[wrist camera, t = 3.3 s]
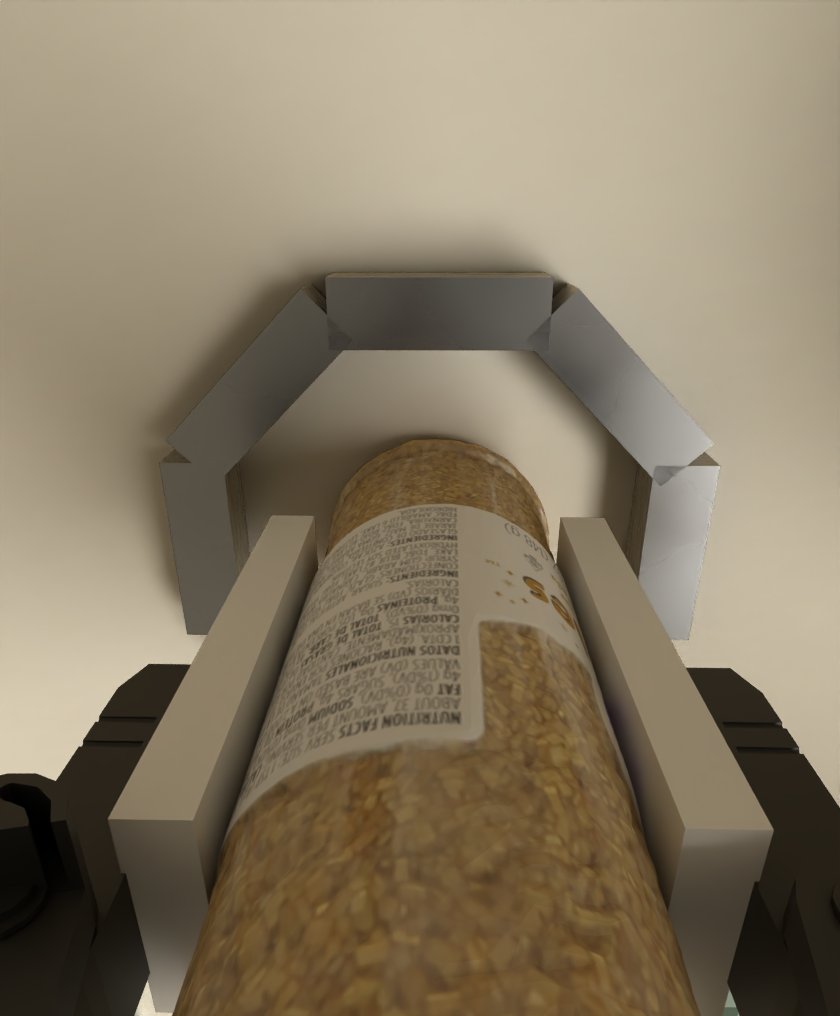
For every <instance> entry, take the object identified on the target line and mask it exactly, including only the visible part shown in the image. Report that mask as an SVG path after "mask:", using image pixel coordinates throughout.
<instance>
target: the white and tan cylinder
mask: <svg viewBox="0 0 840 1016" xmlns="http://www.w3.org/2000/svg"><path fill="white" fill-rule="evenodd" d="M548 535H549V530H548V523H547V519H546V516H545V512H544V509H543V507H542V504H541V501H540V500H539V498H538V496H537V494H536V492H535V490H534V489H533V487H532V486H531V485H530V483H529V482H528V481H527V480H526V478H525V477H524V476H523V475H522V474H521V473H520V472H519V471H518V470H517V469H516V468H515V467H514V466H513V465H512V464H511V463H510V462H509V461H508V460H506V459H505V458H503V457H501V456H499V455H497V454H495V453H493V452H491V451H489V450H488V449H486V448H483V447H481V446H479V445H475V444H468V443H464V442H460V441H456V440H439V439H431V440H412V441H408V442H406V443H404V444H402V445H400V446H398V447H396V448H393V449H390V450H388V451H385V452H383V453H381V454H379V455H378V456H377V457H375V458H374V459H372V460H371V461H369V462H368V463H366V464H365V465H363V466H362V467H361V468H360V469H359V470H358V472H357V473H356V474H355V475H354V476H353V477H352V478H351V479H350V480H349V482H348V483H347V484H346V485H345V487H344V488H343V490H342V493H341V495H340V498H339V501H338V503H337V505H336V507H335V510H334V512H333V515H332V519H331V526H330V534H329V546H328V549H327V552H326V556H325V559H324V561H323V562H322V564H321V566H320V568H319V569H318V571H317V573H316V575H315V577H314V579H313V581H312V584H311V587H310V589H309V592H308V595H307V598H306V601H305V604H304V607H303V610H302V612H301V615H300V618H299V621H298V624H297V627H296V630H295V632H294V635H293V638H292V641H291V644H290V647H289V650H288V653H287V655H286V658H285V661H284V664H283V667H282V670H281V673H280V676H279V679H278V682H277V684H276V687H275V690H274V693H273V696H272V699H271V702H270V705H269V708H268V711H267V714H266V717H265V720H264V723H263V726H262V729H261V732H260V735H259V738H258V741H257V744H256V747H255V749H254V752H253V755H252V758H251V761H250V764H249V767H248V770H247V773H246V776H245V779H244V782H243V785H242V788H241V790H240V793H239V796H238V799H237V802H236V805H235V808H234V811H233V814H232V817H231V820H230V823H229V825H228V828H227V831H226V834H225V837H224V841H223V844H222V847H221V850H220V853H219V857H218V861H217V865H216V875H215V885H214V888H213V891H212V895H211V899H210V903H209V907H208V912H207V915H206V917H205V920H204V923H203V925H202V928H201V931H200V934H199V938H198V942H197V946H196V949H195V952H194V954H193V957H192V960H191V962H190V964H189V967H188V970H187V973H186V976H185V979H184V982H183V985H182V988H181V991H180V994H179V997H178V1000H177V1003H176V1006H175V1009H174V1012H173V1015H172V1016H701V1015H700V1012H699V1009H698V1007H697V1004H696V1001H695V998H694V995H693V992H692V987H691V983H690V980H689V977H688V973H687V970H686V967H685V964H684V961H683V957H682V952H681V949H680V946H679V943H678V941H677V938H676V935H675V932H674V928H673V925H672V922H671V919H670V917H669V914H668V911H667V908H666V905H665V902H664V899H663V896H662V894H661V891H660V888H659V885H658V877H657V873H656V869H655V865H654V863H653V861H652V859H651V857H650V855H649V852H648V849H647V846H646V840H645V835H644V831H643V826H642V821H641V817H640V812H639V808H638V804H637V801H636V797H635V793H634V790H633V786H632V783H631V780H630V776H629V773H628V770H627V767H626V764H625V761H624V758H623V756H622V753H621V750H620V747H619V744H618V741H617V737H616V734H615V731H614V728H613V725H612V722H611V719H610V716H609V713H608V710H607V707H606V704H605V701H604V698H603V695H602V692H601V689H600V686H599V683H598V680H597V677H596V674H595V671H594V668H593V665H592V662H591V659H590V656H589V653H588V649H587V646H586V643H585V640H584V637H583V634H582V631H581V628H580V625H579V622H578V619H577V616H576V613H575V610H574V608H573V604H572V601H571V598H570V595H569V592H568V589H567V586H566V584H565V581H564V578H563V576H562V574H561V572H560V570H559V569H558V567H557V565H556V564H555V561H554V558H553V555H552V553H551V551H550V549H549V539H548Z"/></svg>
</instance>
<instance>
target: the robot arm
mask: <svg viewBox="0 0 840 1016" xmlns="http://www.w3.org/2000/svg"><path fill="white" fill-rule="evenodd" d="M556 565H557V567H558V569H559V570H560V572H561V574H562V576H563V578H564V581H565V584H566V586H567V589H568V592H569V595H570V598H571V601H572V604H573V608H574V610H575V613H576V616H577V619H578V622H579V625H580V628H581V631H582V634H583V637H584V640H585V643H586V646H587V649H588V653H589V656H590V659H591V662H592V665H593V668H594V671H595V674H596V677H597V680H598V683H599V686H600V689H601V692H602V695H603V698H604V701H605V704H606V707H607V710H608V713H609V716H610V719H611V722H612V725H613V728H614V731H615V734H616V737H617V741H618V744H619V747H620V750H621V753H622V756H623V758H624V761H625V764H626V767H627V770H628V773H629V776H630V780H631V783H632V786H633V790H634V793H635V797H636V801H637V804H638V808H639V812H640V817H641V821H642V826H643V831H644V835H645V840H646V846H647V849H648V852H649V855H650V857H651V859H652V861H653V863H654V865H655V869H656V873H657V877H658V885H659V888H660V891H661V894H662V896H663V899H664V902H665V905H666V908H667V911H668V914H669V917H670V919H671V922H672V925H673V928H674V932H675V935H676V938H677V941H678V943H679V946H680V949H681V952H682V957H683V961H684V964H685V967H686V970H687V973H688V977H689V980H690V983H691V987H692V992H693V995H694V998H695V1001H696V1004H697V1007H698V1009H699V1012H700V1015H701V1016H722V1014H723V1011H724V1007H725V1004H726V1000H727V996H728V993H729V989H730V992H731V994H732V997H733V1000H734V1002H735V1005H736V1008H737V1010H738V1013H739V1016H840V808H839V806H838V805H837V803H836V802H835V800H834V799H833V797H832V796H831V794H830V793H829V791H828V790H827V788H826V787H825V785H824V784H823V782H822V781H821V779H820V778H819V776H818V775H817V773H816V772H815V770H814V769H813V768H812V766H811V765H810V763H809V762H808V760H807V759H806V757H805V756H804V754H800V753H799V747H798V745H797V744H796V742H795V741H794V739H793V738H792V736H791V735H790V733H789V732H788V730H787V729H784V728H783V727H782V722H781V720H780V719H779V717H778V716H777V714H776V713H775V711H774V710H773V708H772V707H771V705H770V704H769V702H768V701H767V699H766V698H765V696H764V695H763V693H762V692H760V691H759V690H758V689H756V688H755V687H754V686H752V685H751V684H750V683H749V682H747V681H746V680H745V679H743V678H742V677H741V676H740V675H738V674H737V673H736V672H734V671H733V670H732V669H731V668H685V666H684V664H683V662H682V660H681V658H680V656H679V655H678V653H677V651H676V649H675V647H674V645H673V644H672V642H671V640H670V638H669V636H668V634H667V633H666V631H665V629H664V627H663V625H662V623H661V622H660V620H659V618H658V616H657V614H656V612H655V610H654V609H653V607H652V605H651V603H650V601H649V599H648V598H647V596H646V594H645V592H644V590H643V588H642V587H641V585H640V583H639V581H638V579H637V577H636V576H635V574H634V572H633V570H632V568H631V566H630V564H629V563H628V561H627V559H626V557H625V555H624V553H623V552H622V550H621V548H620V546H619V544H618V542H617V541H616V539H615V537H614V535H613V533H612V531H611V530H610V528H609V526H608V524H607V522H606V520H605V518H568V517H560V528H559V540H558V551H557V563H556ZM317 571H318V558H317V544H316V529H315V516H278V515H272V516H271V518H270V519H269V521H268V523H267V525H266V527H265V529H264V531H263V532H262V534H261V536H260V538H259V540H258V542H257V544H256V545H255V547H254V549H253V551H252V553H251V555H250V557H249V558H248V560H247V562H246V564H245V566H244V568H243V569H242V571H241V573H240V575H239V577H238V579H237V581H236V582H235V584H234V586H233V588H232V590H231V592H230V594H229V595H228V597H227V599H226V601H225V603H224V605H223V607H222V608H221V610H220V612H219V614H218V616H217V618H216V619H215V621H214V623H213V625H212V627H211V629H210V631H209V632H208V634H207V636H206V638H205V640H204V642H203V644H202V645H201V647H200V649H199V651H198V653H197V655H196V656H195V658H194V660H193V662H192V664H191V665H187V664H148V665H147V666H146V667H144V668H143V669H142V670H141V671H139V672H138V673H137V674H135V675H134V676H133V677H132V678H130V679H129V680H128V681H126V682H125V683H124V684H122V685H121V686H120V687H119V688H118V689H117V690H116V692H115V693H114V695H113V696H112V698H111V699H110V701H109V702H108V704H107V705H106V707H105V708H104V710H103V711H102V713H101V714H100V716H99V721H98V722H95V723H94V725H93V726H92V728H91V729H90V731H89V732H88V734H87V735H86V737H85V738H84V740H83V746H82V747H78V749H77V750H76V752H75V753H74V755H73V756H72V758H71V759H70V761H69V762H68V764H67V765H66V767H65V768H64V770H63V771H62V773H61V774H60V776H59V777H58V779H57V780H56V781H54V780H51V779H49V778H46V777H44V776H41V775H39V774H4V775H0V1016H134V1015H135V1012H136V1009H137V1007H138V1004H139V1001H140V999H141V996H142V993H143V991H144V988H145V985H146V983H147V980H148V983H149V987H150V991H151V995H152V999H153V1003H154V1007H155V1011H156V1012H172V1013H173V1012H174V1009H175V1006H176V1003H177V1000H178V997H179V994H180V991H181V988H182V985H183V982H184V979H185V976H186V973H187V970H188V967H189V964H190V962H191V960H192V957H193V954H194V952H195V949H196V946H197V942H198V938H199V934H200V931H201V928H202V925H203V923H204V920H205V917H206V915H207V912H208V907H209V903H210V899H211V895H212V891H213V888H214V885H215V875H216V865H217V861H218V857H219V853H220V850H221V847H222V844H223V841H224V837H225V834H226V831H227V828H228V825H229V823H230V820H231V817H232V814H233V811H234V808H235V805H236V802H237V799H238V796H239V793H240V790H241V788H242V785H243V782H244V779H245V776H246V773H247V770H248V767H249V764H250V761H251V758H252V755H253V752H254V749H255V747H256V744H257V741H258V738H259V735H260V732H261V729H262V726H263V723H264V720H265V717H266V714H267V711H268V708H269V705H270V702H271V699H272V696H273V693H274V690H275V687H276V684H277V682H278V679H279V676H280V673H281V670H282V667H283V664H284V661H285V658H286V655H287V653H288V650H289V647H290V644H291V641H292V638H293V635H294V632H295V630H296V627H297V624H298V621H299V618H300V615H301V612H302V610H303V607H304V604H305V601H306V598H307V595H308V592H309V589H310V587H311V584H312V581H313V579H314V577H315V575H316V573H317Z"/></svg>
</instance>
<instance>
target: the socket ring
mask: <svg viewBox="0 0 840 1016" xmlns="http://www.w3.org/2000/svg"><path fill="white" fill-rule="evenodd" d="M553 280H554V277H552V276H550V275H549V274H547V273H545V272H333V273H332V274H330V275H328V276H327V277H325V285H326V298H325V297H324V296H323V295H322V294H321V293H320V292H319V291H318V290H317V289H316V288H315V287H314V286H313V285H312V284H311V283H309V284H308V285H306V286H304V287H302V288H301V289H300V290H299V291H298V292H297V293H296V294H295V295H294V296H293V297H292V299H291V300H290V301H289V302H288V303H287V304H286V305H285V307H284V308H283V309H282V310H281V311H280V312H279V313H278V314H277V316H276V317H275V318H274V319H273V320H272V321H271V322H270V323H269V325H268V326H267V327H266V328H265V329H264V330H263V331H262V333H261V334H260V335H259V336H258V337H257V338H256V339H255V340H254V342H253V343H252V344H251V345H250V346H249V347H248V348H247V349H246V351H245V352H244V353H243V354H242V355H241V356H240V357H239V359H238V360H237V361H236V362H235V363H234V364H233V365H232V366H231V368H230V369H229V370H228V371H227V372H226V373H225V374H224V375H223V377H222V378H221V379H220V380H219V381H218V382H217V383H216V385H215V386H214V387H213V388H212V389H211V390H210V391H209V392H208V394H207V395H206V396H205V397H204V398H203V399H202V400H201V401H200V403H199V404H198V405H197V406H196V407H195V408H194V409H193V411H192V412H191V413H190V414H189V415H188V416H187V417H186V418H185V420H184V421H183V422H182V423H181V424H180V425H179V426H178V427H177V429H176V430H175V431H174V432H173V433H172V434H171V435H170V437H169V438H168V439H167V440H166V442H167V443H168V444H170V445H171V446H172V447H173V448H174V450H173V451H172V452H171V453H170V454H169V455H168V456H166V457H165V458H164V459H163V460H162V461H161V462H160V463H159V464H160V470H161V476H162V483H163V489H164V495H165V501H166V507H167V513H168V519H169V526H170V532H171V538H172V544H173V550H174V556H175V562H176V569H177V575H178V581H179V587H180V593H181V599H182V605H183V612H184V618H185V624H186V630H187V634H192V635H207V634H208V632H209V631H210V629H211V627H212V625H213V623H214V621H215V619H216V618H217V616H218V614H219V612H220V610H221V608H222V607H223V605H224V603H225V601H226V599H227V597H228V595H229V594H230V592H231V590H232V588H233V586H234V584H235V582H236V581H237V579H238V577H239V575H240V573H241V571H242V569H243V568H244V566H245V564H246V562H247V560H248V558H249V557H250V553H249V545H248V536H247V527H246V518H245V509H244V501H243V492H242V483H241V474H240V465H239V460H240V459H241V458H242V457H243V456H244V455H245V454H246V453H247V452H248V450H249V449H250V448H251V447H252V446H253V445H254V444H255V443H256V442H257V441H258V440H259V439H260V438H261V437H262V436H263V435H264V434H265V432H266V431H267V430H268V429H269V428H270V427H271V426H272V425H273V424H274V423H275V422H276V421H277V420H278V419H279V418H280V417H281V416H282V414H283V413H284V412H285V411H286V410H287V409H288V408H289V407H290V406H291V405H292V404H293V403H294V402H295V401H296V400H297V399H298V397H299V396H300V395H301V394H302V393H303V392H304V391H305V390H306V389H307V388H308V387H309V386H310V385H311V384H312V383H313V382H314V381H315V379H316V378H317V377H318V376H319V375H320V374H321V373H322V372H323V371H324V370H325V369H326V368H327V367H328V366H329V365H330V364H331V363H332V361H333V360H334V359H335V358H336V357H337V356H338V355H339V354H340V353H341V352H342V351H343V350H534V351H535V352H536V353H537V354H538V355H539V356H540V357H541V358H542V360H543V361H544V362H545V363H546V364H547V365H548V366H549V367H550V368H551V369H552V370H553V371H554V372H555V373H556V375H557V376H558V377H559V378H560V379H561V380H562V381H563V382H564V383H565V384H566V385H567V386H568V387H569V389H570V390H571V391H572V392H573V393H574V394H575V395H576V396H577V397H578V398H579V399H580V400H581V401H582V403H583V404H584V405H585V406H586V407H587V408H588V409H589V410H590V411H591V412H592V413H593V414H594V415H595V417H596V418H597V419H598V420H599V421H600V422H601V423H602V424H603V425H604V426H605V427H606V428H607V429H608V431H609V432H610V433H611V434H612V435H613V436H614V437H615V438H616V439H617V440H618V441H619V442H620V443H621V445H622V446H623V447H624V448H625V449H626V450H627V451H628V452H629V453H630V454H631V455H632V456H633V457H634V459H635V460H636V461H637V462H638V467H637V474H636V482H635V490H634V497H633V505H632V512H631V520H630V528H629V535H628V543H627V550H626V559H627V561H628V563H629V564H630V566H631V568H632V570H633V572H634V574H635V576H636V577H637V579H638V581H639V583H640V585H641V587H642V588H643V590H644V592H645V594H646V596H647V598H648V599H649V601H650V603H651V605H652V607H653V609H654V610H655V612H656V614H657V616H658V618H659V620H660V622H661V623H662V625H663V627H664V629H665V631H666V633H667V634H668V636H669V638H670V640H689V635H690V630H691V624H692V619H693V613H694V608H695V602H696V597H697V592H698V586H699V581H700V575H701V570H702V564H703V559H704V553H705V548H706V542H707V537H708V531H709V526H710V520H711V515H712V509H713V504H714V499H715V493H716V488H717V482H718V477H719V471H720V465H719V464H718V463H717V462H715V461H714V460H713V459H712V458H711V457H710V456H709V455H708V454H707V453H705V451H706V450H707V449H708V448H710V447H711V446H712V445H713V444H714V443H713V441H712V440H711V439H710V438H709V437H708V436H707V435H706V433H705V432H704V431H703V430H702V429H701V428H700V427H699V425H698V424H697V423H696V422H695V421H694V420H693V419H692V417H691V416H690V415H689V414H688V413H687V412H686V411H685V409H684V408H683V407H682V406H681V405H680V404H679V403H678V401H677V400H676V399H675V398H674V397H673V396H672V395H671V393H670V392H669V391H668V390H667V389H666V388H665V387H664V385H663V384H662V383H661V382H660V381H659V380H658V379H657V378H656V376H655V375H654V374H653V373H652V372H651V371H650V370H649V368H648V367H647V366H646V365H645V364H644V363H643V362H642V360H641V359H640V358H639V357H638V356H637V355H636V354H635V352H634V351H633V350H632V349H631V348H630V347H629V346H628V344H627V343H626V342H625V341H624V340H623V339H622V338H621V336H620V335H619V334H618V333H617V332H616V331H615V330H614V328H613V327H612V326H611V325H610V324H609V323H608V322H607V320H606V319H605V318H604V317H603V316H602V315H601V314H600V312H599V311H598V310H597V309H596V308H595V307H594V306H593V304H592V303H591V302H590V301H589V300H588V299H587V298H586V296H585V295H584V294H583V293H582V292H581V291H580V290H579V289H578V288H576V287H575V286H573V285H571V284H569V283H568V284H567V285H566V286H565V287H564V288H563V289H562V290H561V291H559V292H558V293H557V294H556V295H555V296H554V297H553V298H552V294H553Z"/></svg>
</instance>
